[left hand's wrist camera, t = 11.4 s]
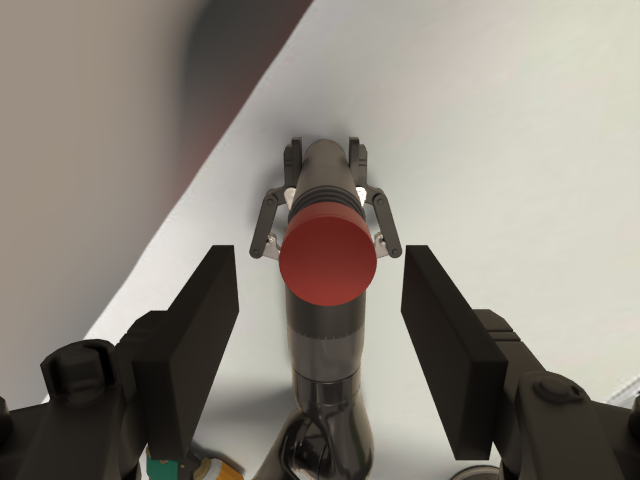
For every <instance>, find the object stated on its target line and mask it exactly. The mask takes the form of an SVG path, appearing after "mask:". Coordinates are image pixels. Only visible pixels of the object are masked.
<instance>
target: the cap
mask: <svg viewBox="0 0 640 480" xmlns="http://www.w3.org/2000/svg"><path fill="white" fill-rule="evenodd" d="M376 266H377V255H376V251H375V247H374V244H373V241H372V238H371V235H370V232H369V229H368V227H367V225H366V223H365V221H364V220H363V218H362V217H361V216H360V215H359V214H358V213H357V212H356V211H354V210H353V209H351V208H350V207H348V206H345V205H343V204H340V203H335V202H320V203H315V204H312V205H310V206H307V207H306V208H304V209H302V210H301V211H299V212H298V213H297V214H296V215H295V216H294V217H293V218H292V220H291V221H290V223H289V224H288V227H287V229H286V232H285V236H284V239H283V243H282V247H281V251H280V255H279V267H280V272H281V275H282V278H283V280H284V282H285V283H286V285H287V286H288V288H289V289H290V290H291V291H292V292H293V293H294V294H295V295H296V296H298V297H299V298H301V299H303V300H305V301H307V302H309V303H312V304H316V305H321V306H335V305H340V304H344V303H347V302H349V301H351V300H353V299H355V298H356V297H358V296H359V295H360V294H362V293H363V292H364V291H365V290H366V289H367V287H368V286H369V284H370V283H371V281H372V279H373V277H374V274H375V271H376Z"/></svg>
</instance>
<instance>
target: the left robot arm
mask: <svg viewBox="0 0 640 480" xmlns="http://www.w3.org/2000/svg"><path fill="white" fill-rule="evenodd" d="M238 313H239V302H238V290H237V278H236V266H235V254H234V245H213V246H212V247H211V249H210V250H209V251H208V253H207V254H206V256H205V257H204V259H203V260H202V261H201V263H200V264H199V266H198V267H197V269H196V270H195V271H194V273H193V274H192V276H191V277H190V278H189V280H188V281H187V283H186V284H185V286H184V287H183V288H182V290H181V291H180V293H179V294H178V296H177V297H176V298H175V300H174V301H173V303H172V304H171V306H170V307H169V308H168V310H167V311H149V312H148V313H146V314H145V315H143V316H142V317H140V318H139V319H137V320H136V321H135V322H134V323H133V325H132V326H131V327H130V328H129V330H128V331H127V334H125V335H124V336H123V337H122V338H121V339H120V342H119V343H117V344H116V346H115V347H114V345H113V344H112V343H110V342H109V341H106V340H101V339H89V340H83V341H79V342H75V343H71V344H69V345H67V346H64V347H62V348H60V349H57V350H56V351H55V352H53V353H52V354H50V355H49V356H47V357H46V358H45V360H44V361H43V362H42V363H41V364H40V367H41V370H42V373H43V377H44V380H45V383H46V386H47V390H48V393H49V396H50V400H49V402H47V403H44V404H40V405H35V406H30V407H26V408H21V409H17V410H12V411H9V410H8V407H7V404H6V401H5V399H3V398H2V397H0V480H141V476H142V474H141V468H140V463H139V458H140V456H141V454H142V452H143V450H144V448H145V446H146V444H147V442H148V447H149V452H150V457H151V460H185V457H186V454H187V451H188V449H189V446H190V443H191V441H192V438H193V435H194V432H195V430H196V427H197V424H198V422H199V419H200V416H201V413H202V411H203V408H204V405H205V403H206V400H207V397H208V395H209V392H210V389H211V386H212V384H213V381H214V378H215V376H216V373H217V370H218V367H219V365H220V362H221V359H222V357H223V354H224V351H225V348H226V346H227V343H228V340H229V338H230V335H231V332H232V330H233V327H234V324H235V321H236V319H237V316H238ZM401 313H402V316H403V319H404V321H405V324H406V327H407V330H408V332H409V335H410V338H411V340H412V343H413V346H414V348H415V351H416V354H417V357H418V359H419V362H420V365H421V367H422V370H423V373H424V376H425V378H426V381H427V384H428V386H429V389H430V392H431V395H432V397H433V400H434V403H435V405H436V408H437V411H438V413H439V416H440V419H441V422H442V424H443V427H444V430H445V432H446V435H447V438H448V441H449V443H450V446H451V449H452V451H453V454H454V457H455V460H489V457H490V452H491V447H492V442H494V444H495V446H496V448H497V450H498V452H499V454H500V456H501V463H500V468H499V472H498V477H497V480H640V395H639V396H638V397H636V399H635V401H634V404H633V407H632V410H631V409H627V408H622V407H618V406H613V405H608V404H604V403H599V402H595V401H592V400H591V399H590V398H589V396H588V395H587V393H586V392H585V391H584V389H583V388H581V387H580V386H579V385H577V384H576V383H575V382H574V381H572V380H570V379H568V378H566V377H564V376H562V375H559V374H556V373H552V372H549V371H546V370H545V368H544V367H543V366H542V365H541V364H540V362H539V361H538V360H537V359H536V357H535V356H534V355H533V354H532V353H531V351H530V350H529V349H528V348H527V346H526V345H525V344H524V343H523V342H521V339H520V338H519V337H518V335H517V334H516V333H515V332H513V329H512V328H511V327H510V325H509V324H508V323H507V322H506V321H505V319H504V318H502V317H500V316H499V315H497V314H496V313H494V312H493V311H491V310H490V309H472V308H471V307H470V306H469V304H468V303H467V301H466V300H465V298H464V297H463V296H462V294H461V293H460V291H459V290H458V288H457V287H456V286H455V284H454V283H453V281H452V280H451V278H450V277H449V276H448V274H447V273H446V271H445V270H444V269H443V267H442V266H441V264H440V263H439V261H438V260H437V259H436V257H435V256H434V254H433V253H432V251H431V250H430V249H429V247H428V246H427V245H406V254H405V266H404V278H403V290H402V302H401Z"/></svg>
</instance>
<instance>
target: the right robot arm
mask: <svg viewBox="0 0 640 480" xmlns="http://www.w3.org/2000/svg"><path fill="white" fill-rule="evenodd" d="M349 168H350V171H351V174H352V177H353V180H354V183H355V186H356V189H357V192H358V195H359V198H360V201H361V203H362V206H363V205H364V202H365V203H368V204H371V205H373V207H374V210H375V214H376V217H377V220H378V224H379V227H380V230H381V231H380V232H378V233H376V234H375V236H374V247H375V251H376V255H377V258H380V257H384V256H387V255H389V256H390V257H392V258H398V257H400V256H401V254H402V248H401V245H400V241H399V238H398V234H397V231H396V227H395V224H394V220H393V217H392V213H391V210H390V206H389V203H388V199H387V197H386V196H385V194H384V192H383V191H382V190H381V189H380V188H374V187H371V186H369V185H368V184H367V183H366V175H367V151H366V148H365V146H364V145H363V144H359V138H358V137H349ZM301 169H302V139H301V137H298V138H292V145H287V146H286V148H285V151H284V171H285V184H284V185H283V186H281V187H279V188H276V189H274V188H273V189H270V190H269V191H268V192H267V195H266V196H265V198H264V200H263V203H262V207H261V211H260V214H259V218H258V222H257V225H256V229H255V233H254V236H253V240H252V243H251V247H250V251H249V253H250V255H251V257H253V258H256V259H258V258H260V257H262V256H265V257H269V258H272V259H276V260H279V255H280V251H281V247H279V246H278V244H277V237H276V235H275V234H274V233H272V232H270V231H271V227H272V224H273V220H274V217H275V214H276V210H277V207H278V206H279V205H282V204H285V203H287V206H288V209H289V212H290V208H291V205H292V201H293V198H294V194H295V191H296V187H297V183H298V180H299V176H300V173H301ZM285 286H286V309H287V330H288V345H289V350H290V355H291V364H292V386H293V396H294V400H295V403H296V405H297V407H298V408H297V409H296V410H294V411H293V412H292V413H291V414H290V415H289V416H288V418H287V420H286V421H285V423H284V425H283V427H282V429H281V431H280V433H279V435H278V437H277V439H276V441H275V443H274V444H273V446H272V448H271V450H270V451H269V453H268V455H267V457H266V458H265V460H264V462H263V463H262V465H261V467H260V468H259V470H258V471H257V473H256V475H255V476H254V477H253V478H252V479H251V480H300V479H299V478H298V477H297V476H296V475H295V473H296V472H298V471H299V472H301V473H302V474H304V475H306V476H307V477H309V478H310V479H312V480H368V478H369V476H370V474H371V471H372V467H373V461H374V440H373V435H372V430H371V426H370V423H369V420H368V416H367V413H366V409H365V406H364V402H363V399H362V396H361V393H360V371H361V355H362V351H363V345H364V328H365V301H366V290H365V291H364V292H363V293H362V294H360V295H359V296H358V297H356V298H355V299H353V300H351V301H349V302H347V303H344V304H340V305H335V306H321V305H316V304H312V303H309V302H307V301H305V300H303V299H301V298H299V297H298V296H296V295H295V294H294V293H293V292H292V291H291V290H290V289H289V288H288V286H287V285H286V283H285ZM498 472H499V469H497V468H494V467H475V468H471V469H468V470H465V471H463V472H461V473H460V474H458V475H457V476H455V477H454V478H453V479H452V480H497V477H498Z"/></svg>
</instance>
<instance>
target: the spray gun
mask: <svg viewBox="0 0 640 480" xmlns="http://www.w3.org/2000/svg"><path fill="white" fill-rule="evenodd" d="M146 454H147V475H148V476H149V480H244V478H243V476H242V475H241V474H239V473H238V472H236V471H235V470H234V469H232V468H231V467H230V466H228V465H227V464H225V463H224V462H223V461H221V460H218V459H215V458H214V459H211V460H210V459H209V458H205V459H203V460H202V461H201V460H200V459H199V458H198V457H196V456H195V455H194V454H193V453H192V452H191V451H189V450H188V451H187V454H186V457H185V460H151V457H150V452H149V447H148V446H147V448H146ZM192 471H194V474H192Z"/></svg>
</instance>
